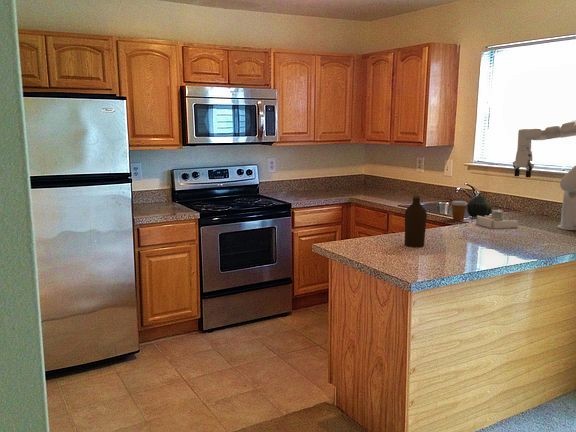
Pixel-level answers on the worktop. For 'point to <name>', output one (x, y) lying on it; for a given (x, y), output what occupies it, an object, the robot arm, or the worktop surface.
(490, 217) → the pusher plate
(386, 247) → the worktop surface
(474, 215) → the squash
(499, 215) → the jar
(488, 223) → the white open tray
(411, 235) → the olive oil
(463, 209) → the disposable coffee cup
